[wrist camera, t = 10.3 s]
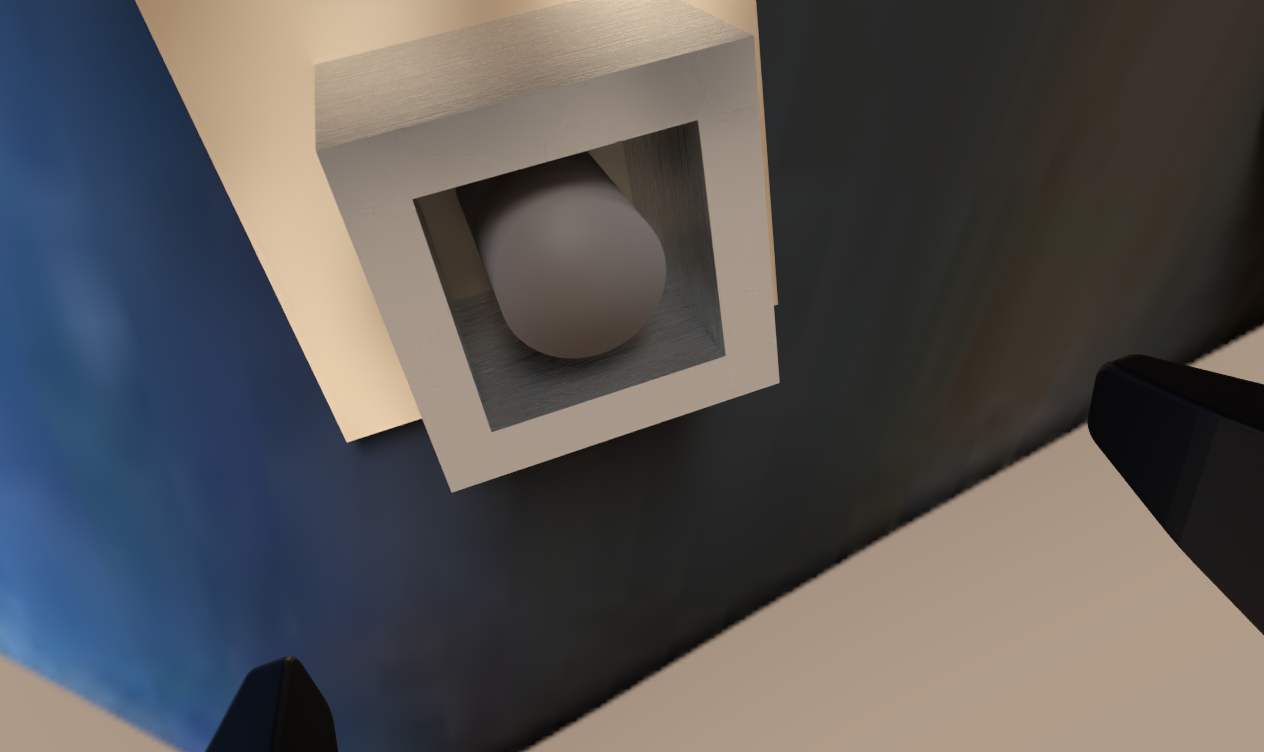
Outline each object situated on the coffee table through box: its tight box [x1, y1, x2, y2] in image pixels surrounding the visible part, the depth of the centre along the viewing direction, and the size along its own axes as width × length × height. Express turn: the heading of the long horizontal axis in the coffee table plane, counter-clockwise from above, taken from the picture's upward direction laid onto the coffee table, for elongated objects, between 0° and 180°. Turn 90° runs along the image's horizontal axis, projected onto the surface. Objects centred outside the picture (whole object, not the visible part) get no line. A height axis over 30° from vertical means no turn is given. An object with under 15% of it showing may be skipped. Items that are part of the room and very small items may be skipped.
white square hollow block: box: [314, 0, 779, 492], centre depth 16 cm, size 6×6×5 cm
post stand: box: [135, 0, 778, 442], centre depth 16 cm, size 11×10×6 cm
